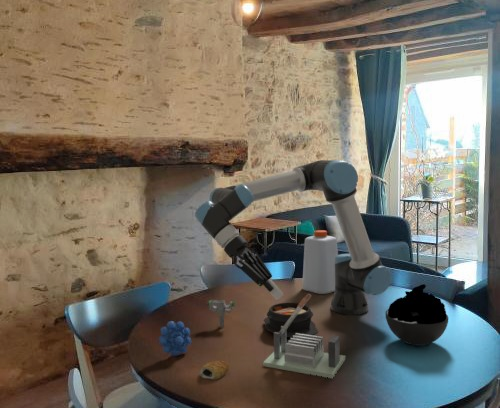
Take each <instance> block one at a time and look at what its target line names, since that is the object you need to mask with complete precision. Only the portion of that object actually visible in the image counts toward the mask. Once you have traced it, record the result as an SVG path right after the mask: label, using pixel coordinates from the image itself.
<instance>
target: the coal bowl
mask: <svg viewBox="0 0 500 408" xmlns="http://www.w3.org/2000/svg"><path fill="white" fill-rule="evenodd" d="M426 287H427V285H426V284H425V283H424V284H423V283H422V284H420V285H418V286H415V287H413V288H412V289H411V290H410V291H408V290H406V291H405V292H404V293H405V295H404V296H403V297H399V298H396V299H395V300H393V301H392V303H390V304H389V306H388V308H387V309H386V311H385V319H386V322H387V326H388V328H389V330H390V331H391V332H392V333H393V335H394V336H396V337H397V338H398V339H399V340H401V341H403V342H405V343H406V344H408V345H414V346H426V345H429V344H432V343H434V342H436V341H437V340H438V339H439V338H441V336H443V334H444V333H445V331H446V329H447V327H448V324H449V315H448V314H447V311H446V308H445V307H446V306H445V304H444V302H442V300H441V298H440V297H437V296H435V295H433V294H432V293H430V294H429V293H428V292H425V291H424V289H426Z"/></svg>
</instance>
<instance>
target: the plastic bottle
mask: <svg viewBox="0 0 500 408" xmlns="http://www.w3.org/2000/svg"><path fill="white" fill-rule="evenodd" d="M303 249H304V250H303V251H304V252H303V267H302V268H303V269H302V282H301V283H302V286H301V287H302V289H303V291H305V292H310V293H314V294H317V295H328V294H331V293H334V292H335V265H334V264H335V257H336V256H337V255H339V251H338V250H339V249H338V241H337V238H336V237H335V236H331V235H328V231H327V230H324V229H323V230H322V229H321V230H320V229H319V230H314V231H313V235H311V236H308V237H306V238H304V247H303Z"/></svg>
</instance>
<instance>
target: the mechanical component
mask: <svg viewBox="0 0 500 408" xmlns="http://www.w3.org/2000/svg"><path fill="white" fill-rule="evenodd" d="M206 304H207V305H206V306H208V307H209V311H210V312H211V313H217V316H218V318H219V328H220V329H223V328H224V327H225V321H224V319H225V318H224V317H225V316H226V314H225V313H228V314H229V313H231V312H232V310H233V309H234V308H235V306H236V305H235V304H236V303H235V302H233V301H230V302H229V304H226V300H224V299H222V300H219V299H210V300H208V301H207V303H206Z"/></svg>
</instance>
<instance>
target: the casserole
mask: <svg viewBox="0 0 500 408" xmlns="http://www.w3.org/2000/svg"><path fill="white" fill-rule="evenodd" d="M299 303H300V302H281V303H275V304H274V305H271V306H270V307H269V309H268V311H267V312H266V316H267V317H265V318H264V319H263V321H264V327H265V329H266V331H269V332H270V333H273V334H274V332H278V333H279V332H280V330H281V326H284V325H285V323H286V322H287V321H288V319H289V318H290V317H291V315H292V314H293V312H294V311H295V310H296V308H297V307H298V304H299ZM313 316H314V312H313V311H312V310H311V307H310V306H308V305H307V304H305V305H304V306H303V308H302V309H301V310H300V312H299V313H298V315H297V316H296V317H295V319H294V320H293V321H292V323H291V324H290V326H289V327H288V328H287V338H289V339H291V338H293V336H295V334H296V333H299V334H306V335H313V336H316V335H317V334H318V333H319V330H318V328H317V326H316V323H315V322H314V321H312V318H313Z"/></svg>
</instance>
